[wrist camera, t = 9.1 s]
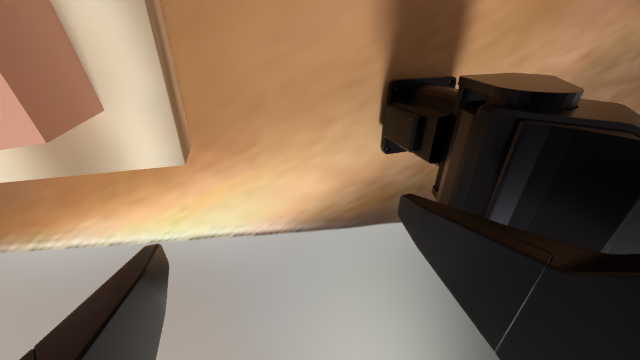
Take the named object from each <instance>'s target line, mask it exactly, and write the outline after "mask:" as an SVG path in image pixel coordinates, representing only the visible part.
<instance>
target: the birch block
mask: <svg viewBox="0 0 640 360" xmlns="http://www.w3.org/2000/svg"><path fill="white" fill-rule="evenodd" d="M50 2H51V4H52V6H53V8H54V10H55V12H56V14H57V16H58V18H59V20H60V22H61V24H62V26H63V28H64V30H65V32H66V34H67V36H68V38H69V40H70V42H71V44H72V46H73V48H74V50H75V52H76V54H77V56H78V58H79V60H80V62H81V64H82V66H83V69H84V71H85V73H86V75H87V77H88V79H89V81H90V83H91V85H92V87H93V89H94V91H95V93H96V95H97V97H98V99H99V101H100V103H101V105H102V107H103V109H104V111H103V112H101V113H99V114H97V115H96V116H94V117H92V118H90V119H89V120H87V121H85V122H83V123H81V124H80V125H78V126H76V127H74V128H73V129H71V130H69V131H67V132H66V133H64V134H62V135H60V136H58V137H57V138H55V139H53V140H51V141H50V142H48V143H45V144H38V145H31V146H25V147H18V148H11V149H5V150H0V183H1V182H12V181H22V180H33V179H43V178H54V177H64V176H75V175H85V174H95V173H106V172H116V171H127V170H137V169H148V168H158V167H169V166H179V165H185V164H186V161H187V158H188V155H189V152H190V149H191V146H192V144H191V139H190V135H189V130H188V126H187V121H186V117H185V113H184V108H183V104H182V99H181V95H180V90H179V86H178V81H177V77H176V72H175V68H174V63H173V59H172V55H171V50H170V46H169V41H168V37H167V32H166V28H165V23H164V19H163V14H162V10H161V6H160V1H159V0H50Z"/></svg>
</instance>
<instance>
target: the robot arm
mask: <svg viewBox="0 0 640 360" xmlns="http://www.w3.org/2000/svg"><path fill="white" fill-rule="evenodd" d="M450 81H451V82H450ZM449 82H450V84H449ZM396 83H397V87H396V88H394V86H395V84H396ZM455 85H456V78H455V77H452V76H444V77H426V78H408V79H394V80H392V81H391V82H390V84H389V90H388V99H387V106H386V108H385V116H384V125H383V133H382V134H383V141H382V151H383V152H384V153H385V154H392V153H399V152H406V151H408V152H412V153H414V154H415V155H417V156H419V157H420V158H422V159H424V160H425V161H427V162H429V163H431V164H432V163H433V164H435V165H437V166H439V170H438V174H437V178H436V182H435V185H434V186H433V188H432V194H433V195H434V197H435V198H436V200H437V202H435V201H432V200H429V199H426V198H423V197H420V196H417V195H414V194H405V195H402V196H401V197H400V201H399V206H398V216H399V218H400V220H401V221H402V223H403V225H404V226H405V228H406V230H407V231H408V233H409V235H410V236H411V238H412V240H413V241H414V243H415V245H416V246H417V248H418V249H419V250H420V252H421V253H422V255H423V256H424V257H425V259H426V260H427V261H428V263H429V264H430V265H431V267H432V268H433V269H434V271H435V272H436V273H437V275H438V276H439V277H440V279H441V280H442V282H443V283H444V284H445V286H446V287H447V288H448V290H449V291H450V292H451V294H452V295H453V296H454V298H455V299H456V301H457V302H458V303H459V305H460V306H461V307H462V309H463V310H464V311H465V313H466V314H467V315H468V317H469V318H470V319H471V321H472V322H473V323H474V325H475V326H476V328H477V329H478V330H479V332H480V333H481V334H482V335H483V337H484V338H485V340H486V341H487V342H488V344H489V345H490V346H491V348H492V349H493V351H494V352H495V353H496V355H497V356H498V358H499V359H500V360H640V115H639V114H637V113H636V112H634V111H633V110H631V109H630V108H628V107H627V106H625V105H623V104H618V103H611V102H603V101H594V100H586V99H580V98H581V96H582V94H583V92H584V89H582V88H580V87H578V86H575V85H573V84H571V83H569V82H566V81H564V80H562V79H560V78H557V77H555V76H551V75H538V74H524V73H500V74H482V75H464V76H460V78H459V82H458V85H459V89H455ZM387 147H389V148H388V149H387ZM386 149H387V150H386ZM168 276H169V263H168V260H167V257H166V255H165V253H164V250H163V248H162V246H161V245H160V244H153V245H148V246H145V247H144V248H143V249H141V250H140V251H139V252H138V253H137V254H136V255H135V256H134V257H133V258H132V259H130V260H129V261H128V262H127V263H126V264H125V265H124V266H123V267H122V268H121V269H119V270H118V271H117V272H116V273H115V274H114V275H113V276H112V277H111V278H109V280H107V281H106V282H105V283H104V284H103V285H102V286H101V287H100V288H98V289H97V290H96V291H95V292H94V293H93V294H92V295H91V296H90V297H88V298H87V299H86V300H85V301H84V302H83V303H82V304H81V305H80V306H78V307H77V308H76V309H75V310H74V311H73V312H72V313H71V314H70V315H69V316H67V318H65V319H64V320H63V321H62V322H61V323H60V324H59V325H58V326H56V327H55V328H54V329H53V330H52V331H51V332H50V333H49V334H48V335H46V336H45V337H44V338H43V339H42V340H41V341H40V342H39V343H38V344H36V345H35V347H34V349H31V350H30V351H29V352H28V353H26V354H25V355H24V356H23V357H22V358H21V359H20V360H156V356H157V351H158V346H159V341H160V337H161V332H162V327H163V322H164V317H165V311H166V300H167V288H168Z"/></svg>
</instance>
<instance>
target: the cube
mask: <svg viewBox="0 0 640 360" xmlns="http://www.w3.org/2000/svg"><path fill="white" fill-rule="evenodd" d="M103 111H104V109H103V107H102V105H101V103H100V101H99V99H98V97H97V95H96V93H95V91H94V89H93V87H92V85H91V83H90V81H89V79H88V77H87V75H86V73H85V71H84V69H83V66H82V64H81V62H80V60H79V58H78V56H77V54H76V52H75V50H74V48H73V46H72V44H71V42H70V40H69V38H68V36H67V34H66V32H65V30H64V28H63V26H62V24H61V22H60V20H59V18H58V16H57V14H56V12H55V10H54V8H53V6H52V4H51V2H50V0H0V150H5V149H11V148H18V147H25V146H31V145H38V144H45V143H48V142H50V141H51V140H53V139H55V138H57V137H58V136H60V135H62V134H64V133H66V132H67V131H69V130H71V129H73V128H74V127H76V126H78V125H80V124H81V123H83V122H85V121H87V120H89V119H90V118H92V117H94V116H96V115H97V114H99V113H101V112H103Z"/></svg>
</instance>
